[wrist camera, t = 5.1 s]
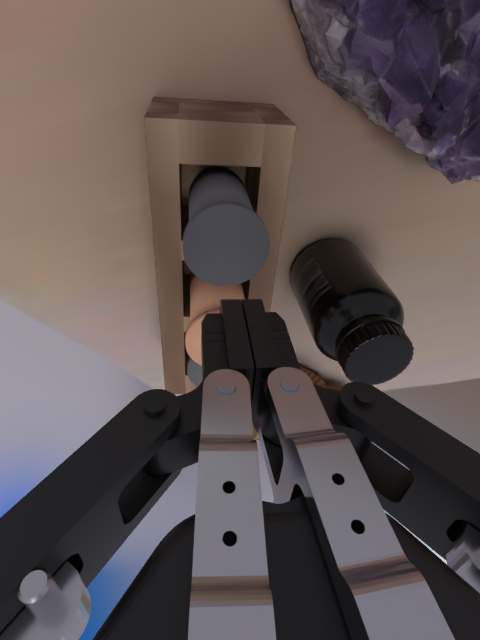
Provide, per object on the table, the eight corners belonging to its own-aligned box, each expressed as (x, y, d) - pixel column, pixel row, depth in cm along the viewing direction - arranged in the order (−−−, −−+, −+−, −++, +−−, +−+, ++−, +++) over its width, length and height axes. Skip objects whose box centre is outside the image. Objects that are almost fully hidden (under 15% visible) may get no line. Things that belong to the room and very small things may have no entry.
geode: (242, 97, 26) (270, 93, 17) (317, -134, 21) (411, -304, 12) (471, 198, 31) (580, 235, 22) (574, 36, 26) (764, 3, 18)
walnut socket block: (273, 104, 26) (296, 125, 20) (248, 338, 39) (258, 390, 33) (153, 97, 25) (144, 117, 19) (168, 340, 38) (165, 394, 32)
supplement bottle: (306, 312, 37) (347, 409, 28) (276, 261, 33) (310, 353, 24) (372, 279, 36) (438, 369, 26) (348, 221, 32) (415, 303, 22)
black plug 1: (253, 163, 23) (275, 207, 17) (248, 228, 25) (265, 286, 20) (183, 160, 22) (181, 205, 17) (184, 227, 25) (183, 286, 19)
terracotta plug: (246, 252, 26) (261, 313, 21) (241, 302, 29) (254, 368, 23) (185, 252, 26) (184, 314, 20) (186, 302, 28) (185, 370, 23)
